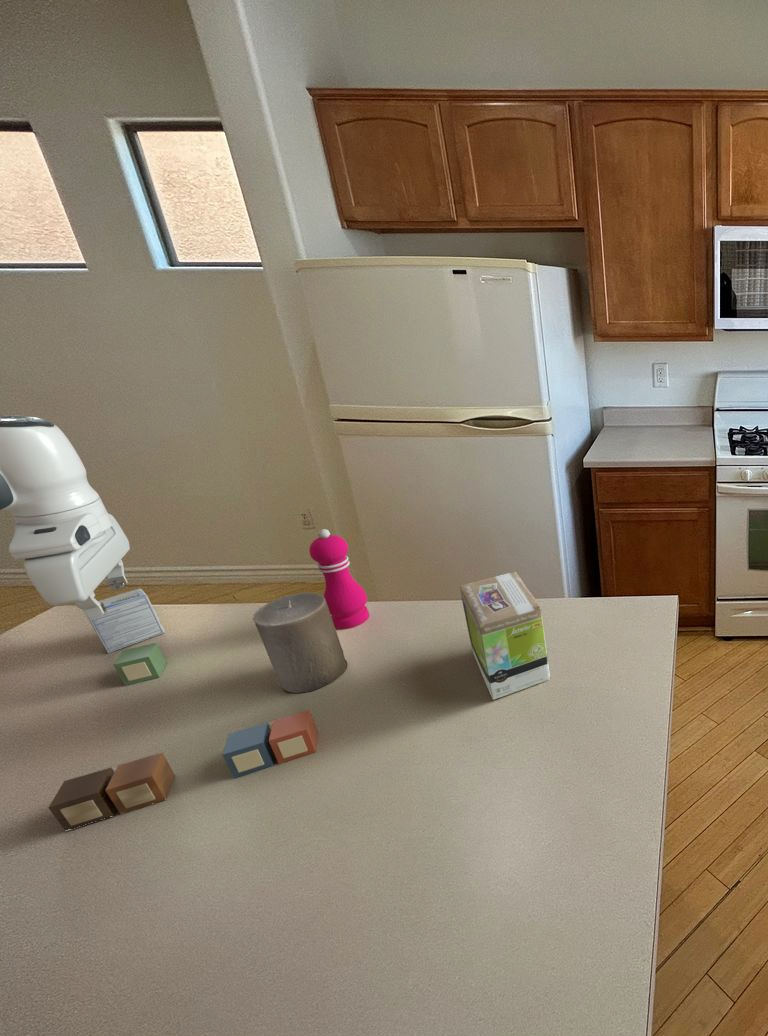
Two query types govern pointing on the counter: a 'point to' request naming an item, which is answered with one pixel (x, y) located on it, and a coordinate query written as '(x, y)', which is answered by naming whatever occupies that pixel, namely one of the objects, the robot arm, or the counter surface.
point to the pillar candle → (301, 641)
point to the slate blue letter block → (249, 750)
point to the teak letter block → (140, 783)
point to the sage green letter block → (140, 664)
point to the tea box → (505, 633)
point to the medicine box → (126, 620)
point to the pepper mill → (339, 581)
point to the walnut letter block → (83, 800)
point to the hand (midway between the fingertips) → (109, 600)
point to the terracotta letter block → (293, 736)
